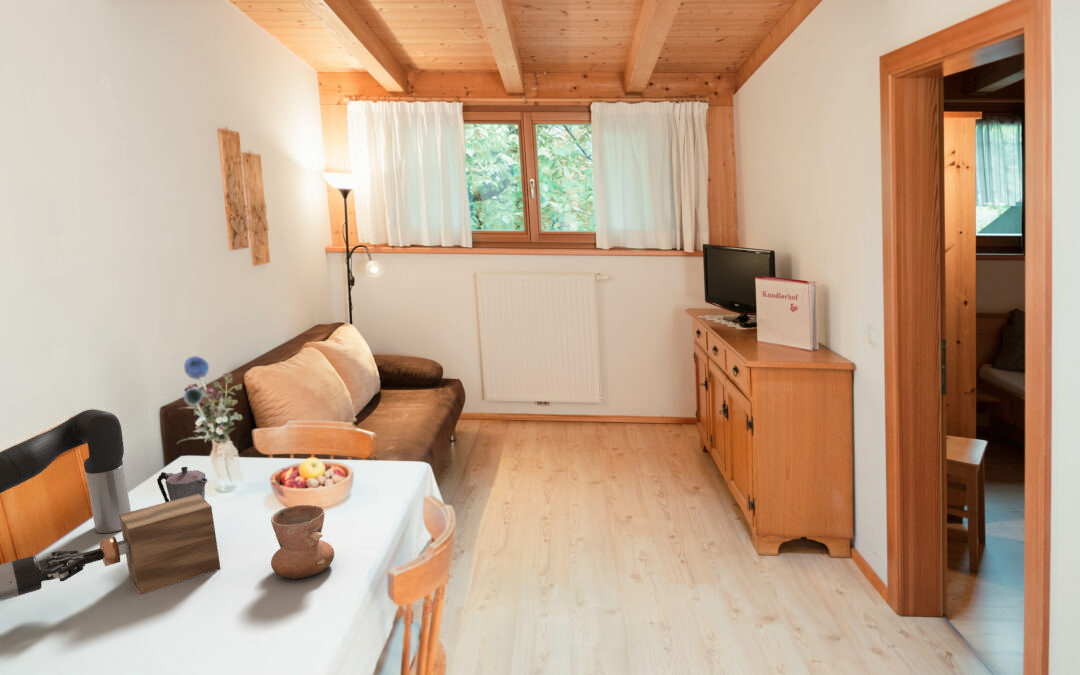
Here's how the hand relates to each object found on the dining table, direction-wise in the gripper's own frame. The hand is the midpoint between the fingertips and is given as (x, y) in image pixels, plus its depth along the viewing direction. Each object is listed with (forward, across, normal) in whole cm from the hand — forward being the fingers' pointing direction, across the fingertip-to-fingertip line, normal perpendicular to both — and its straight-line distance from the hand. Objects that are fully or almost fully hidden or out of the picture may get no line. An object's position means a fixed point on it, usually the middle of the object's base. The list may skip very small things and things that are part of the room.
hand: (102, 553), depth 184 cm
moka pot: (+22, +18, +10) cm, 30 cm away
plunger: (+11, 0, +3) cm, 11 cm away
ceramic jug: (+38, -20, +10) cm, 44 cm away
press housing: (+14, 0, +10) cm, 17 cm away
